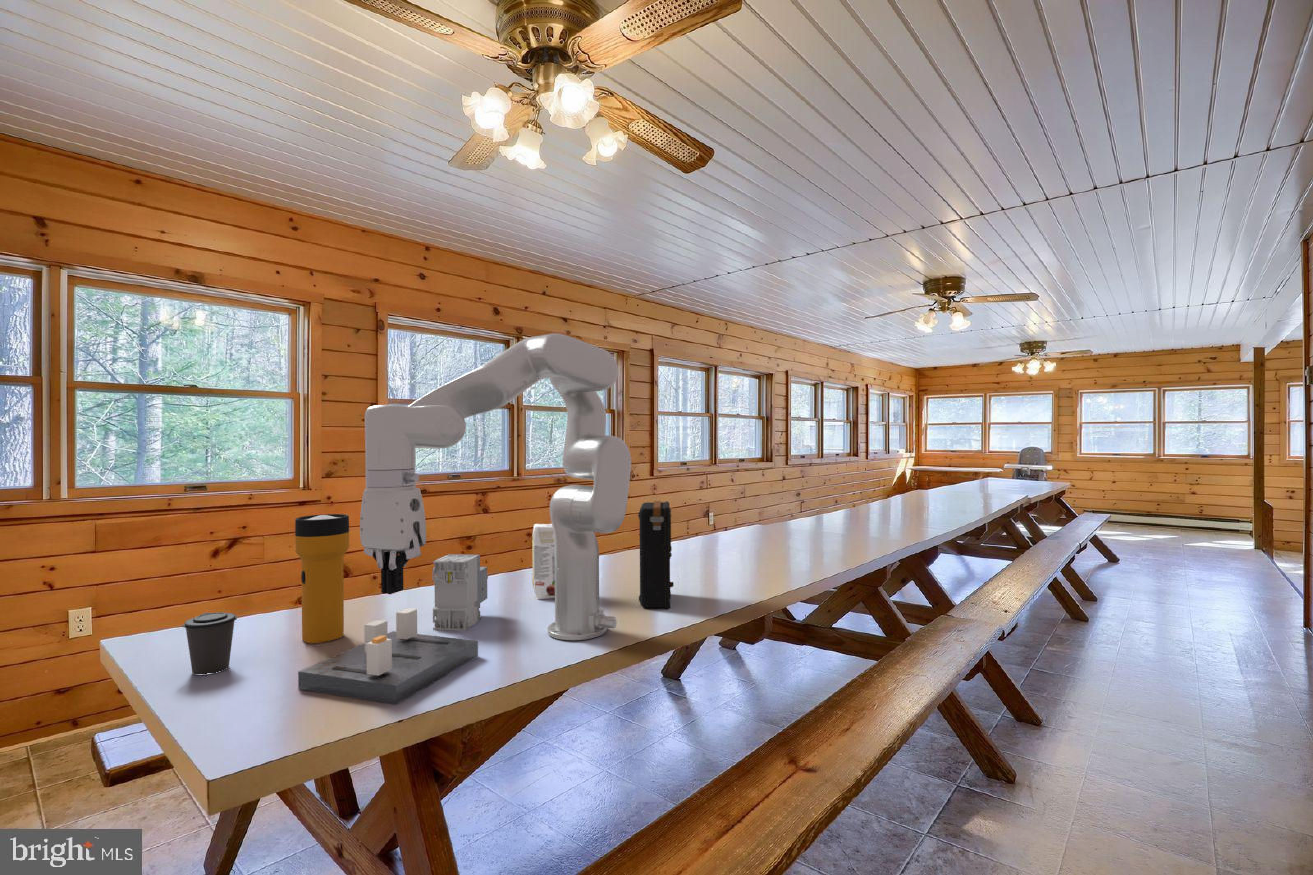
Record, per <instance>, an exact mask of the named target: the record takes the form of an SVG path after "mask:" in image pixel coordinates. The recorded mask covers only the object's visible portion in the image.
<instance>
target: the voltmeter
mask: <svg viewBox="0 0 1313 875" xmlns="http://www.w3.org/2000/svg"><path fill="white" fill-rule="evenodd" d="M639 508H640V509H639V511H638V515H637V516H638V518H639V519H638V520H639V596H638V602H639V604H640V606H641V607H642V608H645V609H647V608H649V609H650V608H653V609H654V608H655V609H657V608H658V609H659V608H662V609H663V608H664V609H666V610H669V609H670V608H671V598H672V597H671V596H672V592H671V591H672V590H671V588H674V582H673V581H671V557H672V556H673V554H672V550H673V548H672V509H671V508H670V502H669V501H664V502H662V501H661V500H654V501H653V502H643V503H642V504H641V506H640V507H639Z"/></svg>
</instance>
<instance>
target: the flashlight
mask: <svg viewBox="0 0 1313 875" xmlns="http://www.w3.org/2000/svg"><path fill="white" fill-rule="evenodd" d="M294 524H295V525H294V535H295V536H294V538H295V539H294V540H295V544H294V545H295V548H294V549H295V551H294V552H295V554H296V555H297V556H298V557H299V558H300V560H301V562H300V564H301V566H300V567H301V573H300V578H301V579H300V581H301V638H302V641H304V642H305V643H307V644H321V643H326V641H327V642H331V641H335V640H338V639H340V638H342V637H343V636H344V632H345V631H344V630H345V628H344V626H345V623H344V622H345V620H344V619H345V616H344V615H345V614H344V613H345V612H344V611H345V607H344V600H345V599H344V598H345V597H344V596H345V595H344V593H345V592H344V588H345V587H344V557H345V554H346V553H347V551H348V550H349V548H350V519H349V514H343V513H332V514H331V513H327V514H314V515H313V514H312V515H305V516H300V517H296V518H295V519H294Z"/></svg>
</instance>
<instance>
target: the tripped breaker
mask: <svg viewBox="0 0 1313 875" xmlns="http://www.w3.org/2000/svg"><path fill="white" fill-rule="evenodd" d="M366 644H367V674H370V675H377V676H379V675H381V674H383V673H385V672H387V671H389V670H391V669H392V639H387V636H382V635H380V636H378V637H376V638H373V639H372V641H371V642H369V643H366Z"/></svg>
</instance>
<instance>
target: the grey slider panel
mask: <svg viewBox="0 0 1313 875" xmlns="http://www.w3.org/2000/svg"><path fill="white" fill-rule="evenodd" d="M387 636H388V639H392V669H391V670H389V671H387V672H385V673H383V674H381V675H379V676H377V675H370V674H367V653H365V642H364V643H362V644H359V645H357V646H355V647H353V648H350V649H348V650H345V651H343V652H341V653H339V654H336V655H334V656H331V657H329V658H326V659H324V660H322V661H319V662H318V663H315V664H312V665H310V666H307V667H305V668H303V669H300V670H299V671H298V672H297V674H298V678H297V680H298V681H297V682H298V683H297V684H298V685H297V686H298V687H297V689H298V690H300V689H301V690H300V691H308V692H313V691H315V692H314V693H319V694H327V695H332V696H339V697H344V696H346V697H345V698H351V697H352V699H357V698H358V699H359V700H364V701H370V702H377V703H382V704H390V705H398V704H400V703H401V702H403V701H405V700H406V699H408V698H410V697H411V696H413V695H415V694H416V693H418V692H420V691H422V690H424V689H425V688H427V687H428V686H430V685H432V684H433V683H436V681H439V680H441V679H443V677H446V676H448V675H449V674H450V673H452V672H454V671H456V670H457V669H459V668H461V667H462V666H465V665H466V664H467V663H469V662H471V661H473V660H474V659H477V658H478V657H479V641H478V640H474V639H465V638H456V637H447V636H439V635H431V634H419V633H417V635H415V636H413V637H411V638H409V639H398V638H396V630H395V631H394V630H393V631H390V632H387Z"/></svg>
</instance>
